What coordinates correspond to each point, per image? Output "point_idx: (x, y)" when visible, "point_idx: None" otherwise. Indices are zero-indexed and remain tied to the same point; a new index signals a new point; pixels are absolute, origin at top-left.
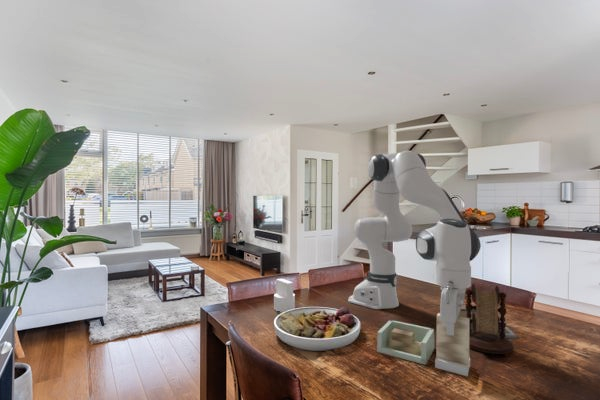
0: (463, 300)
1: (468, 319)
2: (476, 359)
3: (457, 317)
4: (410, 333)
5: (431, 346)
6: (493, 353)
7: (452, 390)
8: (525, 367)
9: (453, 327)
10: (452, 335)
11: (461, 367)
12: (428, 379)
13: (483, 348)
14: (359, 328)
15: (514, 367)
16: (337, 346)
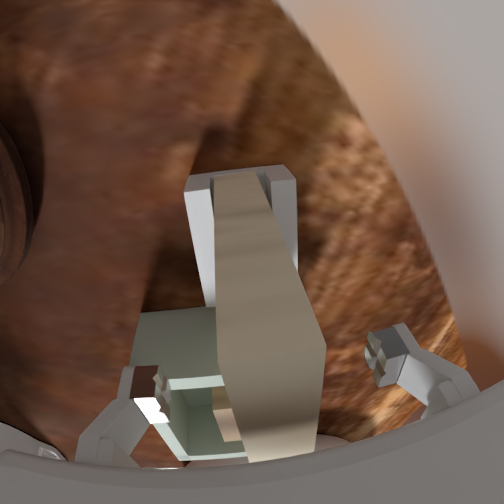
0: (11, 474)
1: (264, 360)
2: (77, 182)
3: (474, 403)
4: (230, 412)
5: (190, 336)
6: (13, 142)
7: (381, 192)
8: (21, 30)
9: (437, 357)
10: (401, 324)
11: (295, 201)
12: (353, 266)
13: (19, 182)
14: (246, 461)
15: (44, 54)
16: (326, 438)
